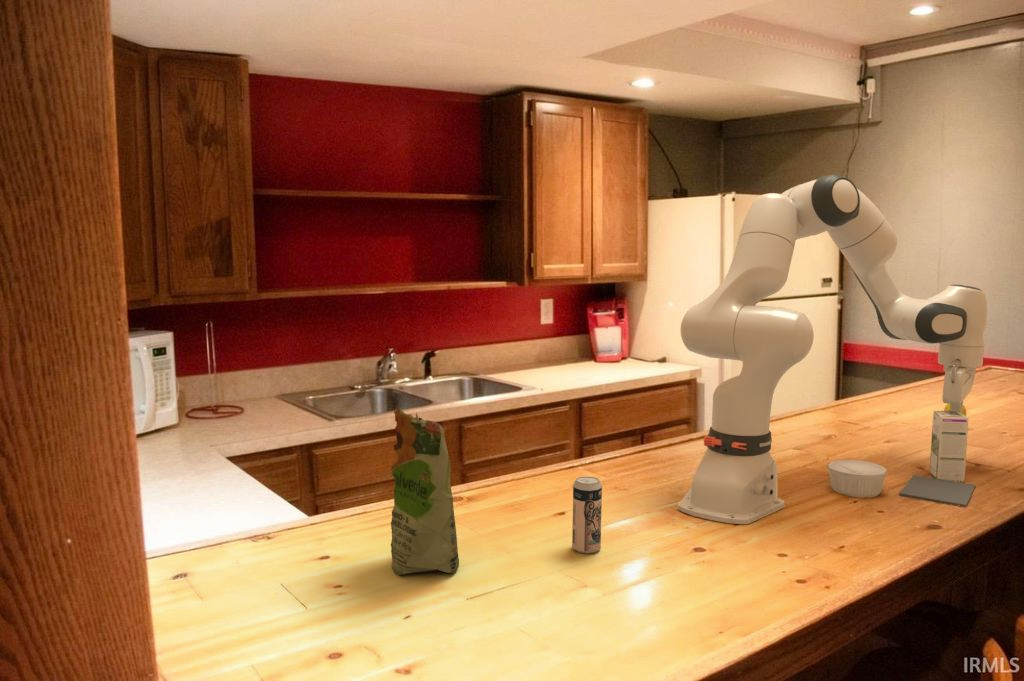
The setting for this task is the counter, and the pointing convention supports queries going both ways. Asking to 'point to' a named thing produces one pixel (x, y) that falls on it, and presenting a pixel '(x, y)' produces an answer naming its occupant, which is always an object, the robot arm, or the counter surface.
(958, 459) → the syrup box
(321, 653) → the counter surface
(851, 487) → the ramekin
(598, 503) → the beer can
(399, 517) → the pouch
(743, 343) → the robot arm
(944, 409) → the lemon
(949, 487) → the mat
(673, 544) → the counter surface
